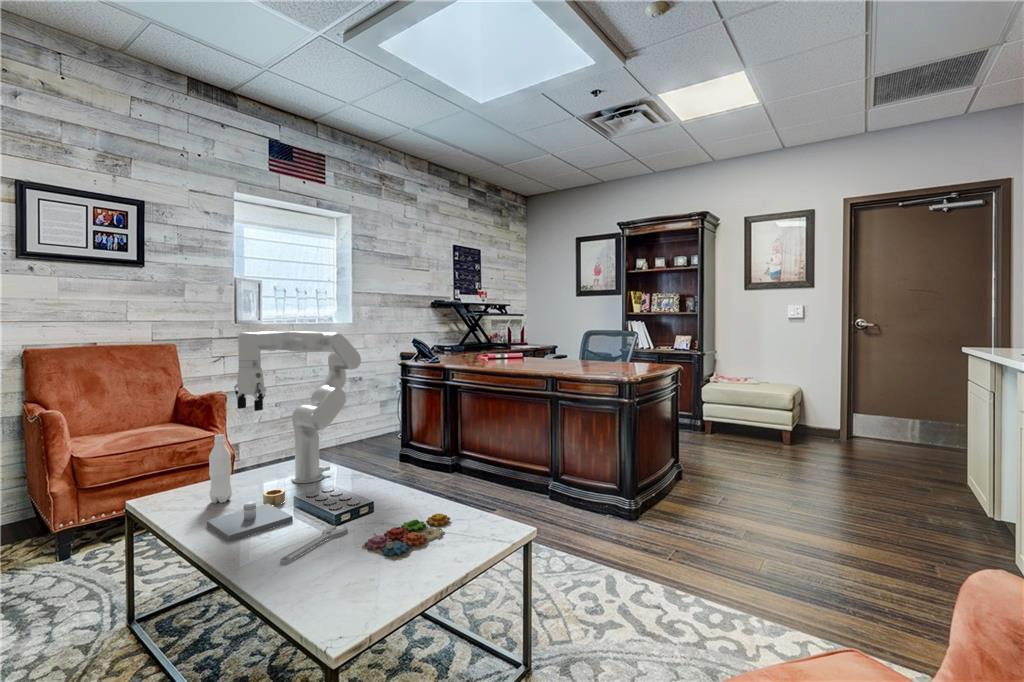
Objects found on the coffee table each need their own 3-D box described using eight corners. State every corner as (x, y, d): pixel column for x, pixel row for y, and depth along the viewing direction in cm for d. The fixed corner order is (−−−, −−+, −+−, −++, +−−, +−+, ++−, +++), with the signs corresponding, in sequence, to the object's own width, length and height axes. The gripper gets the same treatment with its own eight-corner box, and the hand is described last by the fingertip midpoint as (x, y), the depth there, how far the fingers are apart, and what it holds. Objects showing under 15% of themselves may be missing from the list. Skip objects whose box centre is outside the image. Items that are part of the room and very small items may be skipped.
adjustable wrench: (285, 567, 140) (284, 561, 140) (269, 562, 143) (269, 556, 143) (350, 532, 162) (350, 526, 162) (335, 528, 165) (335, 523, 165)
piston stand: (268, 508, 181) (267, 489, 181) (292, 521, 169) (292, 501, 169) (206, 526, 166) (206, 505, 165) (228, 542, 154) (228, 519, 154)
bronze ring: (279, 498, 191) (278, 488, 191) (287, 502, 187) (287, 492, 187) (260, 503, 186) (260, 492, 186) (269, 507, 182) (268, 497, 182)
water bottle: (211, 499, 190) (209, 434, 189) (232, 496, 193) (231, 432, 192) (208, 506, 184) (206, 438, 182) (231, 503, 187) (229, 436, 185)
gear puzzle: (431, 515, 177) (431, 504, 176) (466, 526, 168) (466, 514, 167) (359, 549, 151) (359, 535, 151) (397, 563, 142) (397, 549, 142)
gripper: (273, 365, 191) (274, 409, 192) (244, 363, 199) (244, 406, 200) (255, 366, 185) (256, 412, 185) (225, 364, 193) (226, 408, 193)
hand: (250, 409), depth 193 cm, fingers open, 9 cm apart
